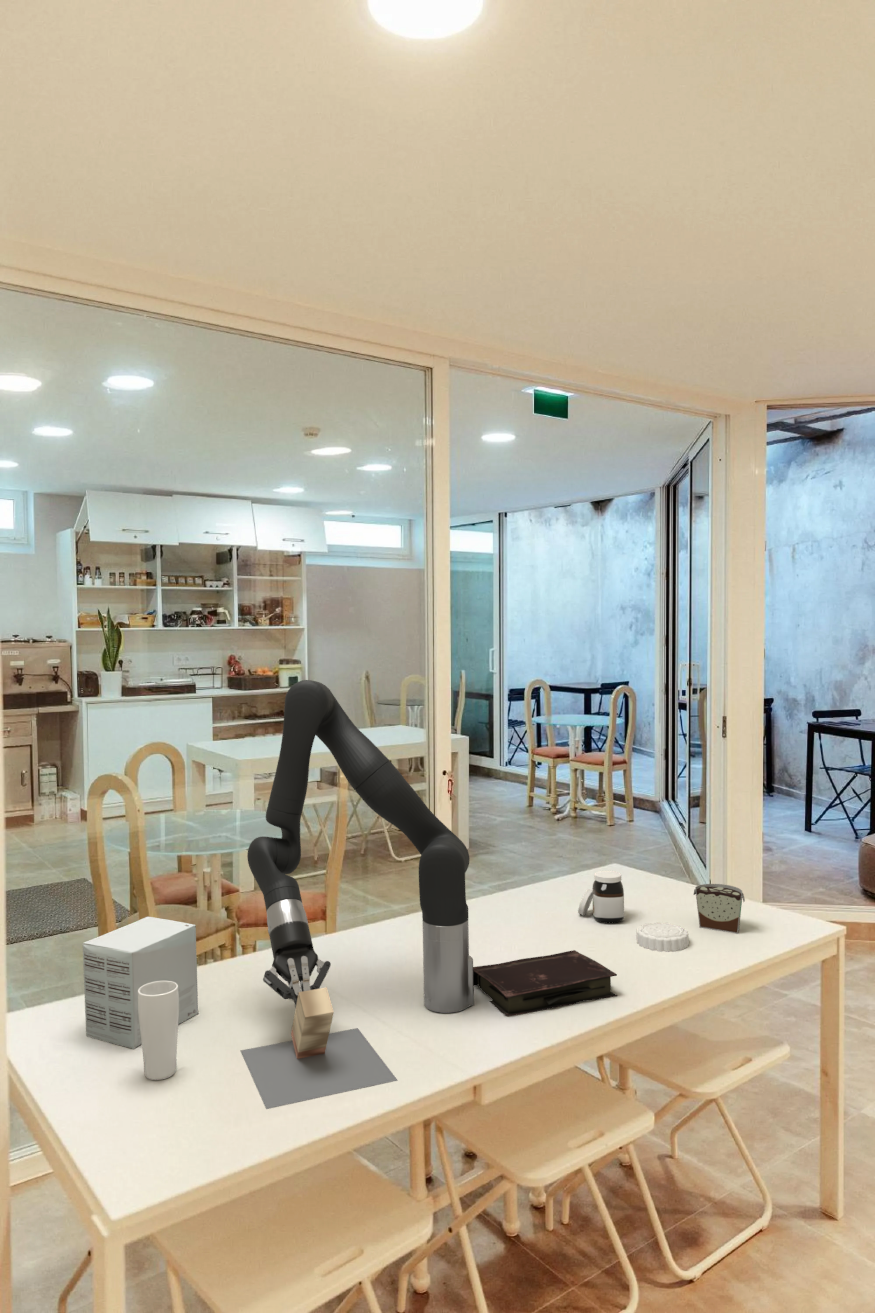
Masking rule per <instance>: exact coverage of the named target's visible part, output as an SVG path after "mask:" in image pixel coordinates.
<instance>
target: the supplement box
mask: <svg viewBox="0 0 875 1313" xmlns="http://www.w3.org/2000/svg"><path fill="white" fill-rule="evenodd" d="M196 927H197V925H196V924H192V923H188V922H183V921H176V920H172V919H165V918H159V917H154V916H145V917H143V918H141V919H138V920H137V921H134V922H132V923H129V924H127V925H124V926H122V927H119V928H117V929H116V928H115V929H114V930H112V931H109V932H107V933H104V934H102V935H99V936H97V937H94V938H91V939H90V940H87V941H84V942H82V961H83V962H82V965H83V989H84V1011H85V1036H86V1037H88V1038H92V1039H96V1040H99V1041H103V1042H105V1043H106V1042H107V1043H110V1044H113V1045H118V1046H120V1047H126V1048H129V1049H132V1050H135V1049H136V1048H137V1047H139V1046H142V1043H141V1035H140V1027H139V1018H138V989H139V988H140V987H141V986H143V985H145V984H148V983H151V982H155V981H172V982H175V983H176V984H177V985H178V992H179V1021H178V1025H180V1024H182V1023H184V1022H185V1021H187V1020H189V1019H191V1018H193V1017H194V1016H196V1015H198V1014H199V998H198V996H199V993H198V964H197V963H198V962H197V961H198V960H197V957H198V956H197V931H196V930H197V928H196Z"/></svg>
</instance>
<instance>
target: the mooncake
mask: <svg viewBox="0 0 875 1313" xmlns="http://www.w3.org/2000/svg"><path fill="white" fill-rule="evenodd" d="M635 932H636V935H635V936H636V939H635V940H636V944H637V945H639V947H642V948H643V949H646V950H650V951H652V952H653V951H654V952H655V951H656V952H659V953H660V952H661V953H662V952H665V953H669V952H678V951H682V950H684V949H687V948H688V946H689V931H688V930H687V929H685V928H684V927H681V925H676V924H672V923H669V922H653V923H644V924H643V925H639V926H638V927H637V928H636V931H635Z"/></svg>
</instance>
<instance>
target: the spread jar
mask: <svg viewBox="0 0 875 1313" xmlns="http://www.w3.org/2000/svg"><path fill="white" fill-rule="evenodd" d="M593 878H594V881H593V883H592V889H590V888H587V889H586V890H585V892H584V893H583V895H582V898H581V900H580V902H579V906H578V910H577V913H578V914H580V915H582V916H585V915H586V914H587V912H588V910H589V908H590V906H591V903H592V914H593V915H592V916H593V919H594V920H595V921H596V922H598V923H601V924H602V923H603V924H617V923H620V922H622V921H623V920H624V917H625V893H624V892H625V890H624V886H623V883H622V873H620V872H619V871H613V870H599V871H595V872H594V877H593Z"/></svg>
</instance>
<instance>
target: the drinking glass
mask: <svg viewBox="0 0 875 1313" xmlns="http://www.w3.org/2000/svg"><path fill="white" fill-rule="evenodd" d="M138 1018H139V1027H140V1035H141V1043H142V1044H141V1049H142V1050H141V1051H142V1059H143V1074H144V1076H145V1078H146V1079H148V1080H151V1081H161V1080H165V1079H168V1078H170V1077H171V1076H173V1075H174V1074H175V1073H176V1071H177V1069H178V1068H177V1067H178V1065H177V1054H178V1036H179V1035H178V1033H179V1024H178V1021H179V992H178V985H177V984H176V983H175V982H172V981H155V982H151V983H148V984H145V985H143V986H141V987H140V988H139V989H138Z"/></svg>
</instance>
